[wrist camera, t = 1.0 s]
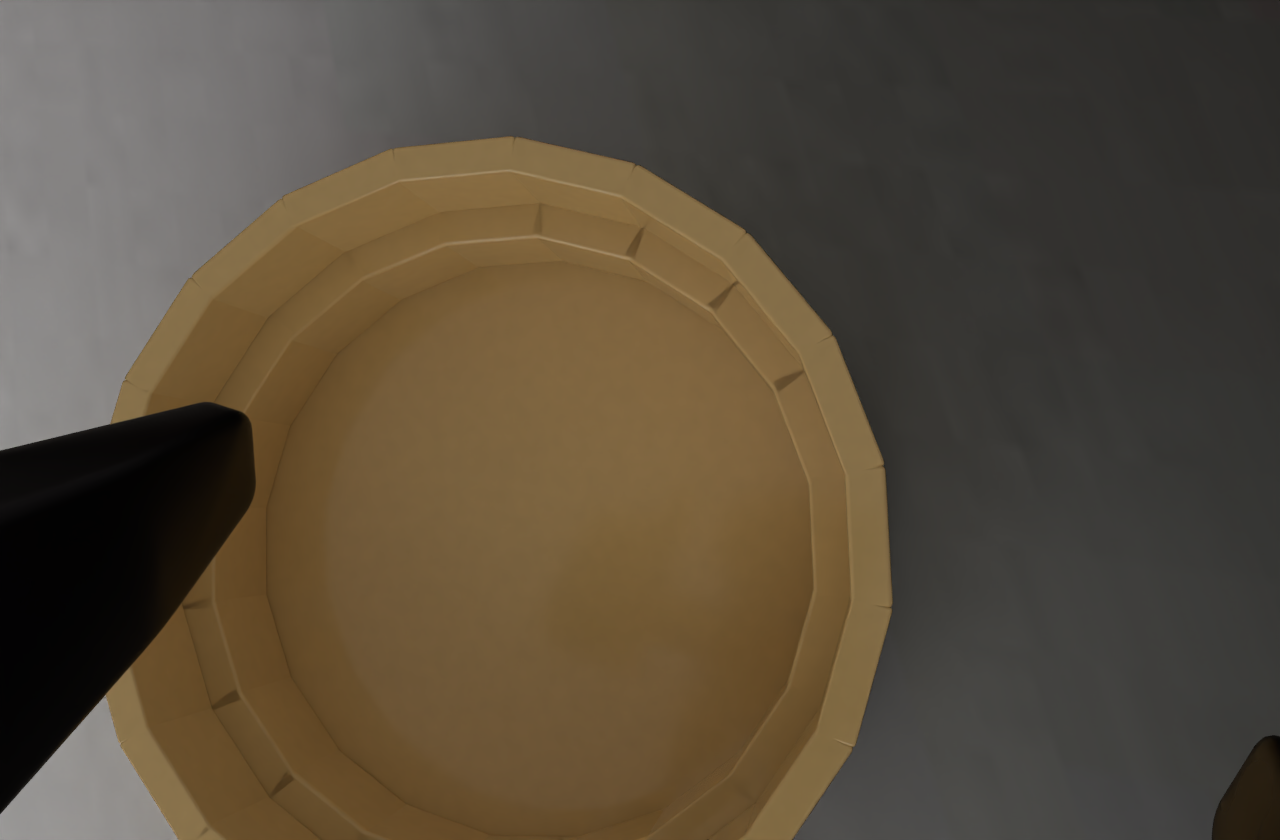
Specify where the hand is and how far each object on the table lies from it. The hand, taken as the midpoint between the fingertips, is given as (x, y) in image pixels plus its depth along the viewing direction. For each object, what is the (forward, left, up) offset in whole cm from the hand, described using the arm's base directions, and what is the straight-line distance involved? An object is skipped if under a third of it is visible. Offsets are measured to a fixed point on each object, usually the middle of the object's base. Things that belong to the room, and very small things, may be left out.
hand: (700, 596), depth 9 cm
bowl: (0, +6, -15) cm, 16 cm away
